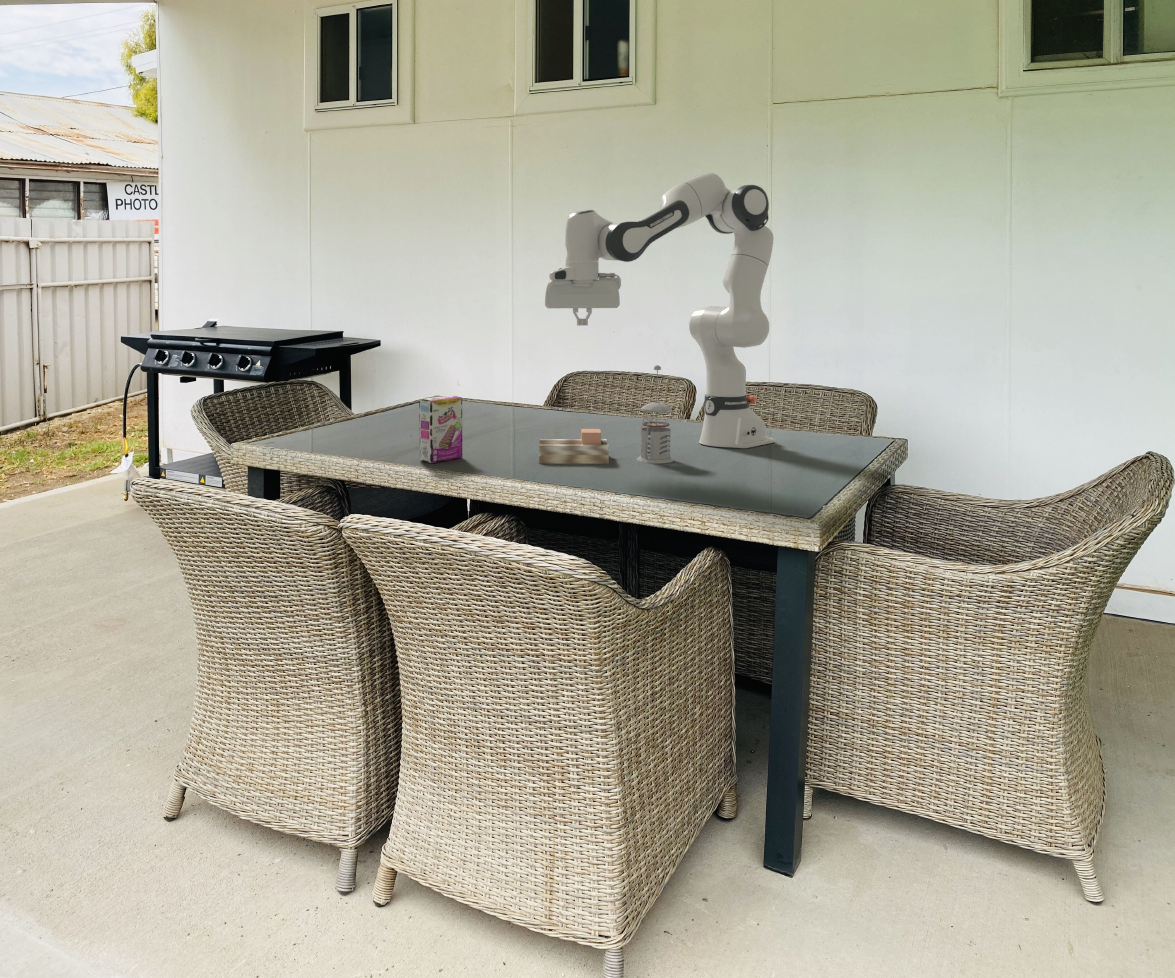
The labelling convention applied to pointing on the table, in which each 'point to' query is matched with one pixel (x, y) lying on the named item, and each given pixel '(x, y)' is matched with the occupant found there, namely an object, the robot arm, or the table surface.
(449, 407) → the candy bar box
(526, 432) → the table surface
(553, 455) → the chute
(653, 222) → the robot arm
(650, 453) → the french press
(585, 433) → the block
